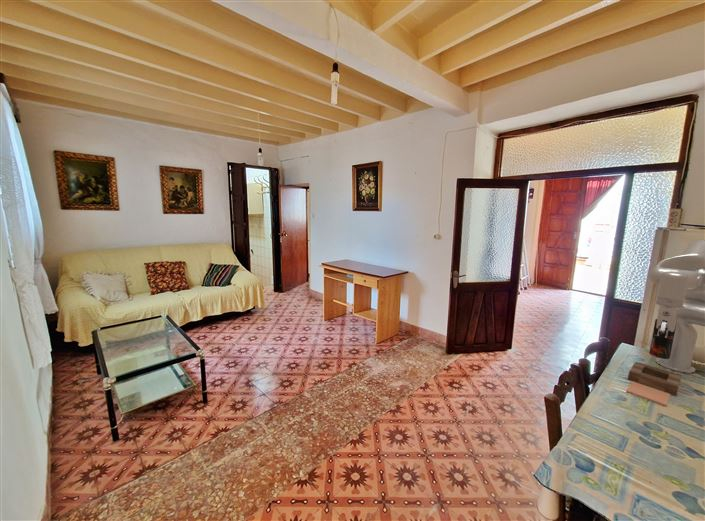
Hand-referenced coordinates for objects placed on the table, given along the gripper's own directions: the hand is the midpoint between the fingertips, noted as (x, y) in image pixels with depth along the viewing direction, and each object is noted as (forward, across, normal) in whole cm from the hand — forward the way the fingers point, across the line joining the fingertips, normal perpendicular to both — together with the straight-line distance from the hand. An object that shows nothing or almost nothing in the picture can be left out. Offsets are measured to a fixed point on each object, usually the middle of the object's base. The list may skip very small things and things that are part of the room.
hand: (661, 343), depth 120 cm
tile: (+17, -15, 0) cm, 23 cm away
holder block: (+17, -1, 0) cm, 17 cm away
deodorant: (+6, 0, 0) cm, 6 cm away
